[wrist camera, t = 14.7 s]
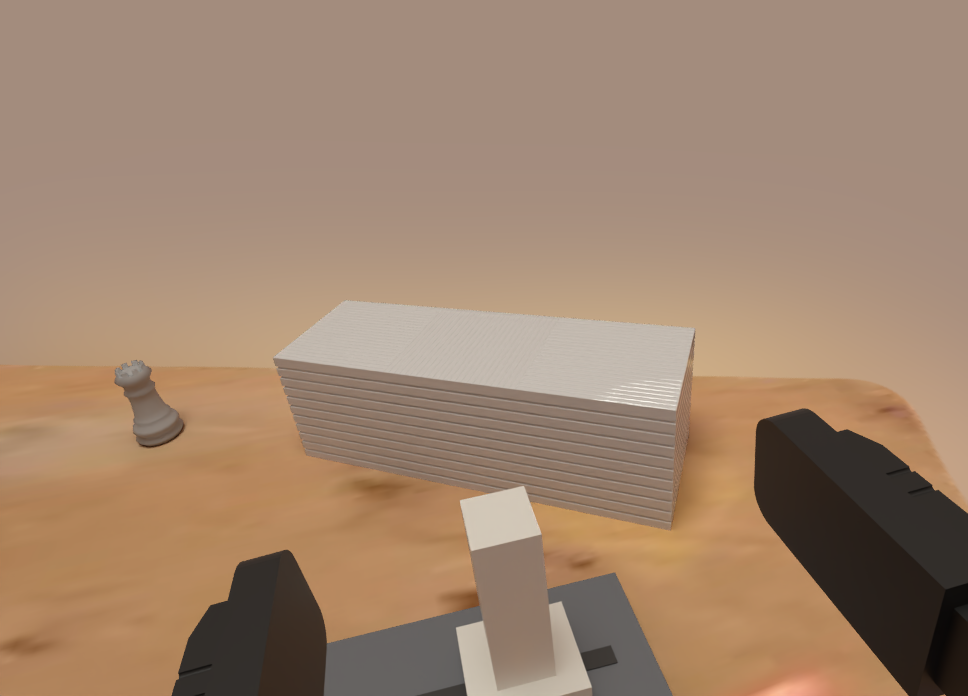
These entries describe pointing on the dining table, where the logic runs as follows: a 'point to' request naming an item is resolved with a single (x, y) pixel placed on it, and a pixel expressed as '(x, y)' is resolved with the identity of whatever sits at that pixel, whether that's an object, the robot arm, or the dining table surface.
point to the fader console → (434, 644)
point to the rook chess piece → (147, 406)
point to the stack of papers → (500, 403)
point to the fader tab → (515, 607)
